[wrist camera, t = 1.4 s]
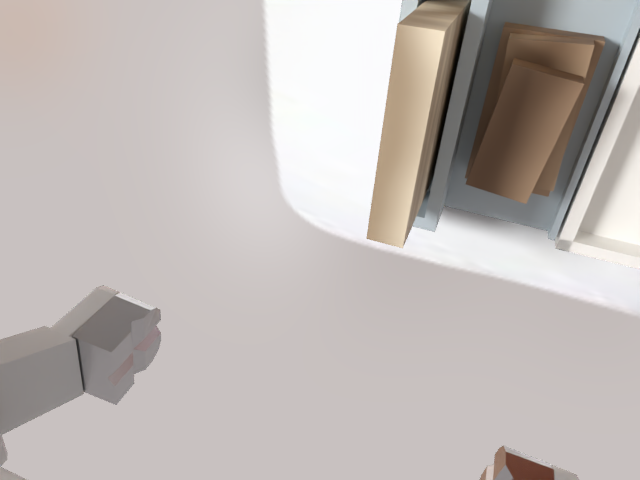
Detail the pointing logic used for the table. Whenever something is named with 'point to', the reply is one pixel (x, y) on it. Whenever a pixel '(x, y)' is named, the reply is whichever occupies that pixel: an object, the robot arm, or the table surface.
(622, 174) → the tray
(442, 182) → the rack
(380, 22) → the table surface
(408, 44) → the maple sheet
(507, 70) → the offcut
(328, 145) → the table surface
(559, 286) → the table surface
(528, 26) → the offcut
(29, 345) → the robot arm
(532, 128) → the offcut
